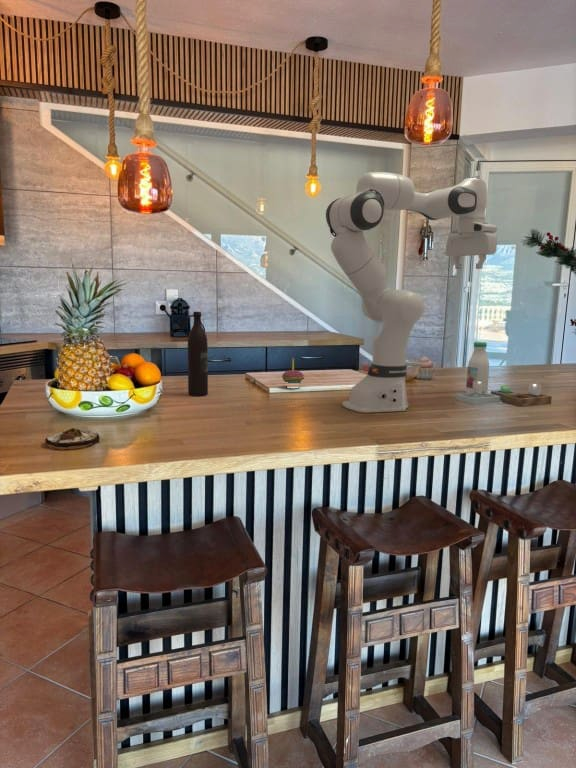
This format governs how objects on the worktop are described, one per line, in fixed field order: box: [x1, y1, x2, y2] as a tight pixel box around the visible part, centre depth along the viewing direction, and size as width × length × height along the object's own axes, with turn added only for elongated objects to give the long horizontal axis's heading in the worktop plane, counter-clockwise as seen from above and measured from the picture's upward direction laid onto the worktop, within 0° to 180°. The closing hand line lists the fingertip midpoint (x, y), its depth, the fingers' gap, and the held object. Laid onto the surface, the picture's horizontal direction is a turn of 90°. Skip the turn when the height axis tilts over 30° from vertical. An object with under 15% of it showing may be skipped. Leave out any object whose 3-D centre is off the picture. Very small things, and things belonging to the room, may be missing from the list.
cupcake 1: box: [281, 358, 305, 384], centre depth 221 cm, size 9×8×12 cm
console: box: [490, 389, 521, 402], centre depth 205 cm, size 7×7×3 cm
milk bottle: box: [465, 341, 490, 393], centre depth 213 cm, size 8×8×20 cm
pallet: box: [501, 392, 553, 408], centre depth 198 cm, size 15×8×3 cm, turn 116°
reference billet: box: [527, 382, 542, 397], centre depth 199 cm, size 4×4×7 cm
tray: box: [455, 392, 501, 406], centre depth 200 cm, size 12×9×2 cm
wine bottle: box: [187, 311, 209, 397], centre depth 203 cm, size 7×7×30 cm
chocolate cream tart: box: [44, 427, 101, 451], centre depth 141 cm, size 15×15×4 cm
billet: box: [472, 380, 485, 398], centre depth 200 cm, size 4×4×7 cm
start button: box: [500, 385, 512, 394], centre depth 204 cm, size 3×3×3 cm
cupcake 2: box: [417, 355, 436, 381], centre depth 249 cm, size 9×9×10 cm
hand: (468, 269), depth 197 cm, fingers open, 8 cm apart
